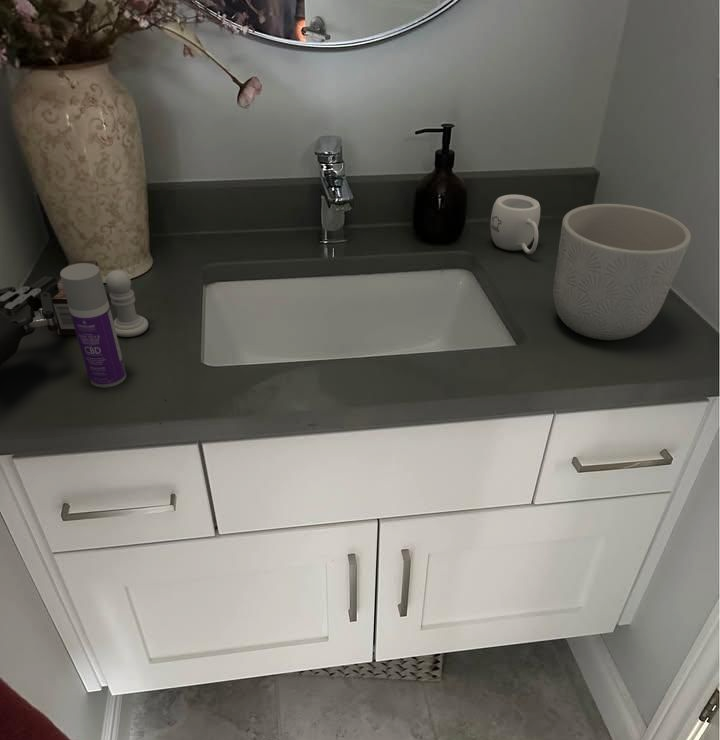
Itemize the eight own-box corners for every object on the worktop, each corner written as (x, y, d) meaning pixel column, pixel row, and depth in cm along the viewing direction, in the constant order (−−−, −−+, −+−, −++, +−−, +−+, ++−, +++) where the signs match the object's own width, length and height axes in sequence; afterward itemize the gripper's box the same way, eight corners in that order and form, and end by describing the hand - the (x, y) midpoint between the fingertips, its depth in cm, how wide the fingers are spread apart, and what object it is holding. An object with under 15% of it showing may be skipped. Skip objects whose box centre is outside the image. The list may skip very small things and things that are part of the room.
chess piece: (121, 342, 99) (107, 283, 93) (105, 327, 102) (90, 269, 96) (155, 330, 101) (143, 272, 95) (138, 316, 104) (126, 259, 98)
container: (92, 390, 90) (61, 283, 80) (87, 372, 93) (56, 266, 83) (129, 383, 91) (103, 276, 81) (123, 365, 94) (97, 260, 84)
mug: (478, 238, 128) (484, 195, 123) (518, 233, 130) (526, 190, 125) (511, 266, 120) (519, 220, 114) (553, 259, 122) (563, 214, 117)
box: (55, 335, 100) (79, 296, 109) (87, 335, 100) (108, 296, 109) (43, 296, 96) (69, 259, 105) (76, 296, 96) (99, 259, 105)
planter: (565, 358, 98) (592, 255, 87) (526, 301, 110) (545, 205, 100) (677, 351, 100) (716, 249, 89) (626, 296, 112) (655, 201, 102)
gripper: (5, 327, 78) (89, 263, 91) (-94, 310, 81) (1, 250, 93) (25, 383, 83) (102, 315, 96) (-68, 365, 86) (19, 301, 98)
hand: (52, 283), depth 94 cm, fingers closed
